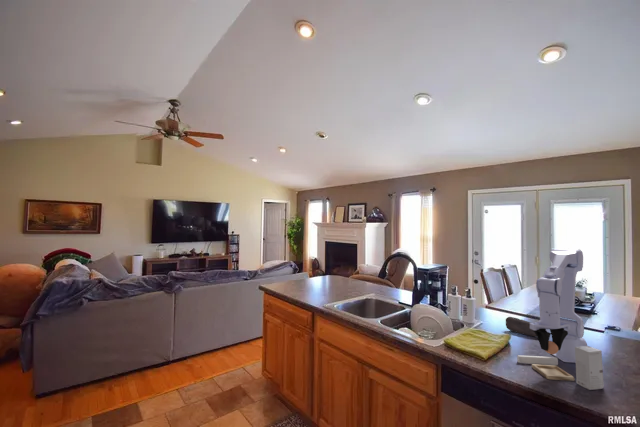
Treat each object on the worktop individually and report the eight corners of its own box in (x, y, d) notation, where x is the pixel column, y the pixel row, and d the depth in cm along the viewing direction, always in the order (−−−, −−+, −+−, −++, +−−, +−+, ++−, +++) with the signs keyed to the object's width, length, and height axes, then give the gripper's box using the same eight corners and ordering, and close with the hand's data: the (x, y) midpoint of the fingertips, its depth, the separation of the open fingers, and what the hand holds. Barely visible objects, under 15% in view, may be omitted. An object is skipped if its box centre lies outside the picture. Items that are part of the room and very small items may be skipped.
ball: (550, 350, 106) (550, 338, 106) (561, 356, 101) (561, 343, 102) (539, 351, 105) (539, 338, 106) (550, 356, 101) (550, 343, 101)
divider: (555, 363, 111) (555, 357, 111) (558, 365, 109) (557, 358, 110) (517, 361, 112) (517, 355, 112) (519, 363, 111) (519, 356, 111)
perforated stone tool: (544, 337, 138) (543, 323, 138) (540, 340, 134) (539, 325, 135) (509, 328, 150) (508, 315, 150) (504, 330, 147) (504, 317, 147)
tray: (556, 368, 107) (556, 365, 107) (574, 380, 98) (574, 377, 98) (531, 367, 107) (531, 364, 107) (547, 379, 99) (547, 375, 99)
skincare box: (590, 390, 92) (589, 352, 93) (575, 383, 97) (574, 346, 97) (604, 388, 94) (603, 350, 94) (589, 381, 98) (587, 345, 99)
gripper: (557, 307, 109) (558, 344, 108) (522, 308, 107) (523, 345, 107) (575, 313, 102) (576, 352, 101) (538, 314, 100) (539, 353, 100)
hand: (550, 349), depth 103 cm, fingers closed on ball, 4 cm apart
